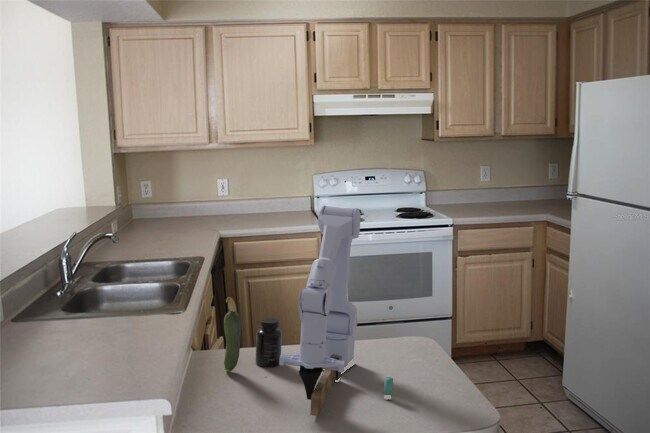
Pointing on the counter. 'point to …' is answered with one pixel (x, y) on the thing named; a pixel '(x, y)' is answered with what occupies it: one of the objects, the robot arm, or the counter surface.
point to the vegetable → (232, 336)
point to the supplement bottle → (268, 343)
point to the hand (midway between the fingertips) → (309, 397)
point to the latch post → (388, 386)
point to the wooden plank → (322, 390)
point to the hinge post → (338, 374)
